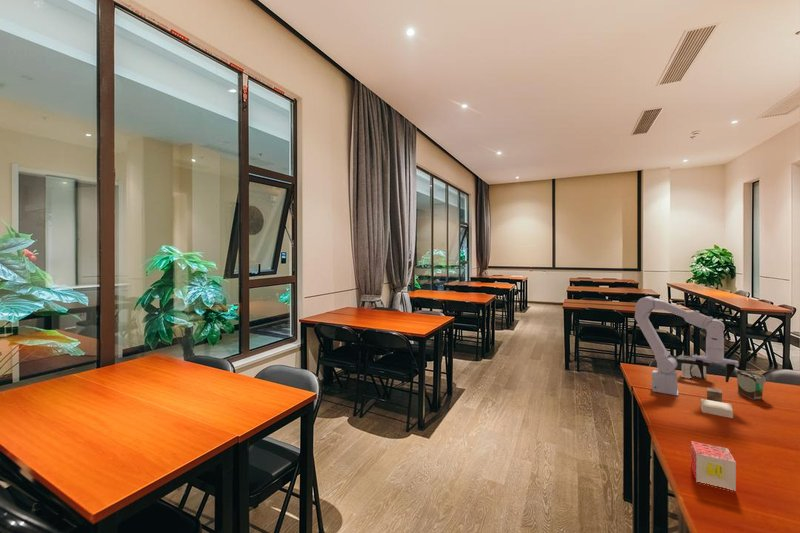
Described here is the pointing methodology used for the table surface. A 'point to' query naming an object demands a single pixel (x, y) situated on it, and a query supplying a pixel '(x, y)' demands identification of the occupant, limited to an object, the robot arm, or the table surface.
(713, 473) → the pink and white box
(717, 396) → the grayish beige block
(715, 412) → the base block
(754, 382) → the food container
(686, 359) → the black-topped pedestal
